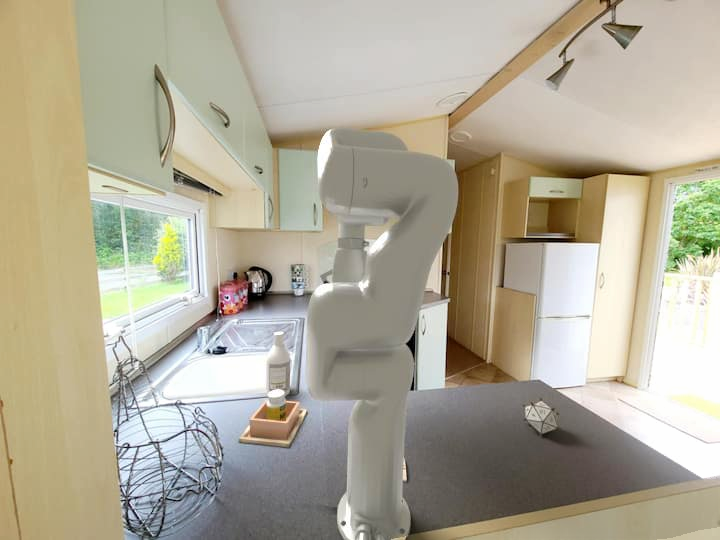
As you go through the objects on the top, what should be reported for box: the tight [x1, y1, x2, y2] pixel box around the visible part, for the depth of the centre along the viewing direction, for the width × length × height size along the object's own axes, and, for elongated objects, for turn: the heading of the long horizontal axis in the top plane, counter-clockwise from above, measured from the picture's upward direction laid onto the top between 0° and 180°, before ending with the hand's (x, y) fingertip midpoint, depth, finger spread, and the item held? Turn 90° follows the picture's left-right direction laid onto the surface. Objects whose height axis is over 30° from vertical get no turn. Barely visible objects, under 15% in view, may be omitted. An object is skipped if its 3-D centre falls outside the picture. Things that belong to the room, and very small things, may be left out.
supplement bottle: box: [267, 390, 287, 421], centre depth 71 cm, size 5×5×8 cm
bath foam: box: [266, 331, 291, 397], centre depth 87 cm, size 7×7×20 cm
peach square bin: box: [249, 398, 301, 439], centre depth 71 cm, size 9×9×4 cm
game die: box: [521, 396, 563, 438], centre depth 73 cm, size 9×8×10 cm
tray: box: [238, 408, 308, 448], centre depth 71 cm, size 14×12×2 cm
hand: (349, 304), depth 81 cm, fingers open, 9 cm apart
